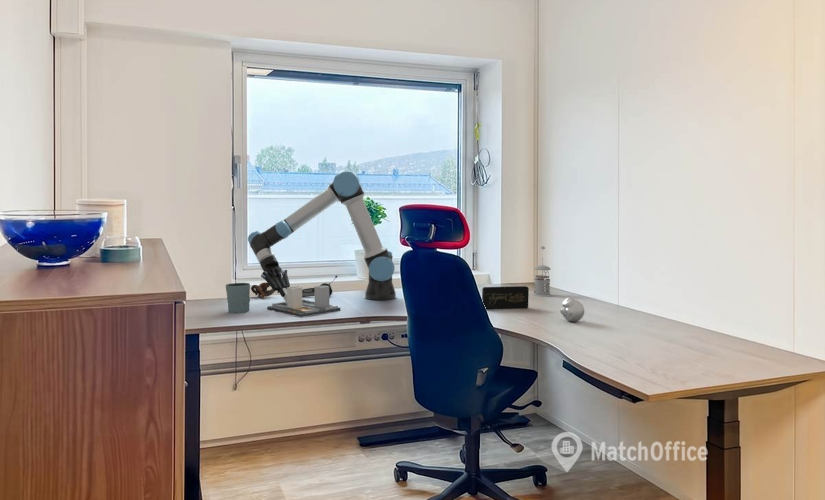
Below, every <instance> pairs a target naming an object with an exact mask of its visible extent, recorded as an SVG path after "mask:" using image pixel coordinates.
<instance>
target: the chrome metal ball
mask: <svg viewBox="0 0 825 500" xmlns="http://www.w3.org/2000/svg"><path fill="white" fill-rule="evenodd" d="M561 304H562V307H561V308H560V311H559V312H560V314H561V315H562V317H563V318H564V319H565V320H566V321H568V322H571V323H573V322H574V323H576V322H578V321H580V320H582V318H584V316H585V307H584V305H583V303H582V302H580V301H579V300H577V299H575V298H574V297H572V296H568V297H567V298H565V299H564V300H563V302H562V303H561Z"/></svg>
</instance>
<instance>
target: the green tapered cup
mask: <svg viewBox="0 0 825 500" xmlns="http://www.w3.org/2000/svg"><path fill="white" fill-rule="evenodd" d="M250 289H251V284H250V282H233V283H232V282H231V283H227V284H225V290H226V297H227V298H226V300H227V309H228V313H229V314H246V313H249V312H250V299H251V298H250V292H251V291H250Z"/></svg>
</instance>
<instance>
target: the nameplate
mask: <svg viewBox="0 0 825 500" xmlns="http://www.w3.org/2000/svg"><path fill="white" fill-rule="evenodd" d="M529 289H530V288H529V287H528V286H526V285H521V286H520V285H519V286H518V285H517V286H513V285H511V286H510V285H509V286H507V285H506V286H484V287H482V291H481V292H482V293H481V294H482V295H481V299H482V300H483V303H484V305H485V307H486V309H487V311H489V310H494V311H495V310H522V309H525V310H527V309H528V308H529V296H530V295H529ZM482 300H481V301H482Z"/></svg>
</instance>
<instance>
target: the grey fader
mask: <svg viewBox="0 0 825 500" xmlns="http://www.w3.org/2000/svg"><path fill="white" fill-rule="evenodd" d="M314 288H315V296H314V302H315V306H317V307H322V308H325V307H329V305H330V296H329V286H320V285H319V286H318V285H317V286H314Z"/></svg>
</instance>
